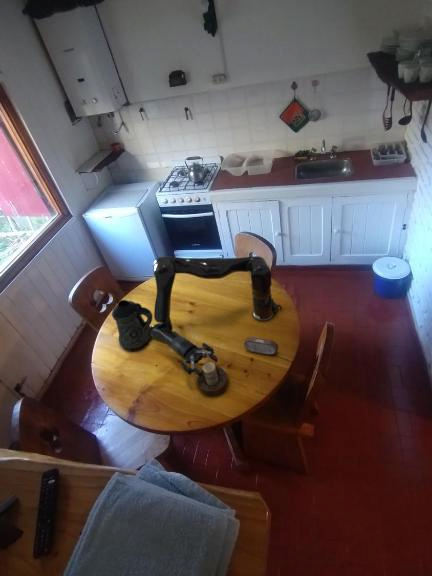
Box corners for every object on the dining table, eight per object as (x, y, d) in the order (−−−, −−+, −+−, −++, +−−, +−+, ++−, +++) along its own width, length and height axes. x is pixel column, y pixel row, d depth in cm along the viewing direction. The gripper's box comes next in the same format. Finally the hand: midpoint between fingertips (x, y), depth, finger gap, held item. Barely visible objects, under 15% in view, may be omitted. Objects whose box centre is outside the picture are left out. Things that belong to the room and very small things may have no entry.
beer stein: (118, 334, 178) (100, 299, 163) (154, 320, 182) (140, 284, 167) (124, 357, 166) (106, 321, 150) (162, 341, 170) (148, 304, 154)
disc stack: (214, 372, 148) (211, 359, 142) (220, 381, 144) (217, 368, 138) (204, 378, 146) (200, 365, 141) (209, 387, 142) (206, 374, 137)
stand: (218, 367, 153) (217, 361, 150) (233, 386, 144) (231, 381, 141) (195, 380, 149) (193, 375, 147) (208, 401, 140) (206, 396, 138)
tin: (278, 351, 154) (278, 339, 149) (277, 357, 152) (276, 345, 146) (246, 346, 159) (244, 334, 154) (244, 351, 157) (242, 339, 152)
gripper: (169, 352, 144) (194, 373, 134) (194, 331, 151) (220, 350, 140) (173, 363, 148) (198, 384, 138) (197, 343, 155) (222, 361, 145)
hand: (209, 367), depth 139 cm, fingers open, 8 cm apart
